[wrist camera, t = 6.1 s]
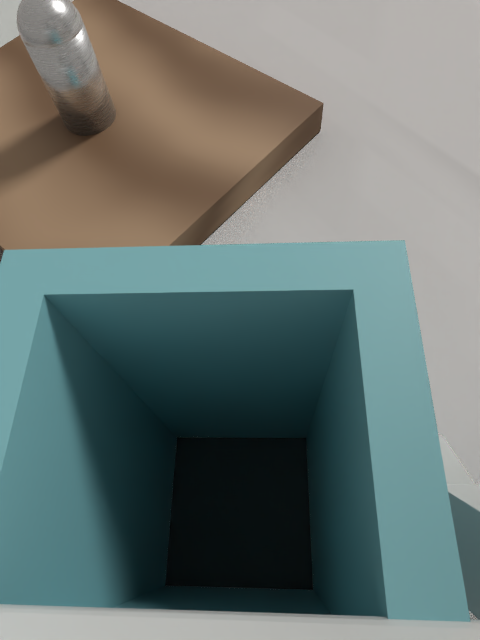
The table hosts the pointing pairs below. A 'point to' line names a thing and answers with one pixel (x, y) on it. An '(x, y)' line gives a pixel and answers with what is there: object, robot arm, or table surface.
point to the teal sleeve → (219, 421)
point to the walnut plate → (142, 140)
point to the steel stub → (66, 64)
